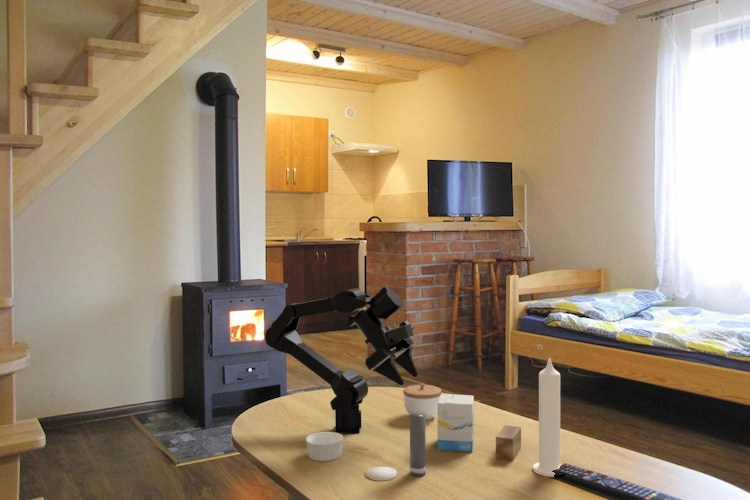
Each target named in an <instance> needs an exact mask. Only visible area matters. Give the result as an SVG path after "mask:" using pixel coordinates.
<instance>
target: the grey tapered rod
mask: <svg viewBox="0 0 750 500" xmlns="http://www.w3.org/2000/svg"><path fill="white" fill-rule="evenodd" d="M426 443H427V442H426V420H425V414H424V413H411V414H409V474H410V475H411V476H412V477H418V478H420V477H423V476H425V475H426V473H427V472H426V471H427V465H426V459H427V458H426V455H427V454H426V452H427V451H426Z"/></svg>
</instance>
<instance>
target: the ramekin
mask: <svg viewBox="0 0 750 500" xmlns="http://www.w3.org/2000/svg"><path fill="white" fill-rule="evenodd" d="M305 442H306V446H307V447H306V448H307V456H308V458H309V459H310V460H313V461H315V462H317V461H318V462H329V461H334V460H337V459H339V458H340V457H341V456H342V454H343V442H344V435H343V434H342V433H335V431H334V432H333V431H321V432H319V431H318V432H315V433H312V434H310V435H307V437H305Z"/></svg>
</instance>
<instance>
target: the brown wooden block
mask: <svg viewBox="0 0 750 500" xmlns="http://www.w3.org/2000/svg"><path fill="white" fill-rule="evenodd" d="M521 448H522V427H521V426H515V425H504V426H502V428H501V429H500V431H498V433H497V435H495V459H502V460H507V461H514V460H515V458H516V457H517V455H518V453H519V452H520V450H521Z"/></svg>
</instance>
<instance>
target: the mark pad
mask: <svg viewBox="0 0 750 500" xmlns="http://www.w3.org/2000/svg"><path fill="white" fill-rule="evenodd" d="M364 472H365V474H364V475H365V477H366V478H367V479H370V480H372V481H378V482H380V481H381V482H383V481H391V480H393V479H395V478H396V477H398V471H397V470H396V469H395V468H393V467H390V466H374V467H371V468H369V469H366V471H364Z"/></svg>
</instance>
